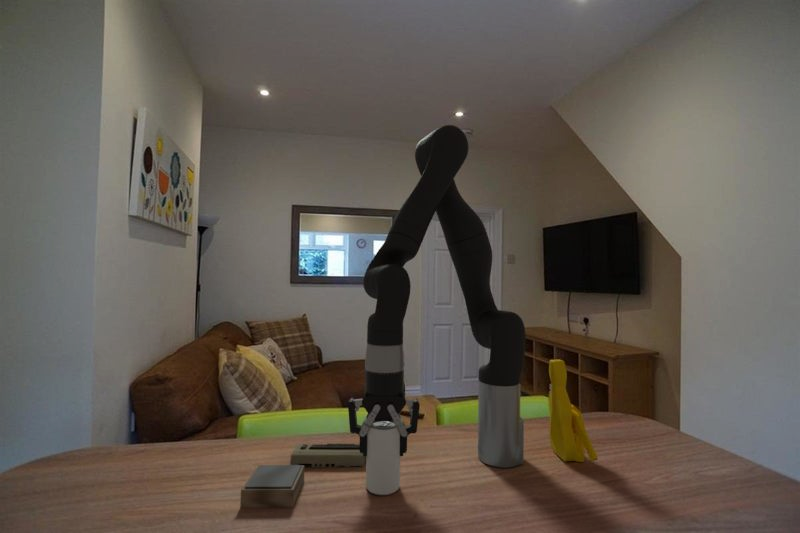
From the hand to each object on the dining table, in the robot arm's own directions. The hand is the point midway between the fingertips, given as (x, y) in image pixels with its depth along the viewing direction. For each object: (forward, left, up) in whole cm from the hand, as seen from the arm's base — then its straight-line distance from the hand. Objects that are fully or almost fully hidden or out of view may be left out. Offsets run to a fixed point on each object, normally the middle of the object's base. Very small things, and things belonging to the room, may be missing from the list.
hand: (383, 454), depth 74 cm
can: (0, 0, -6) cm, 6 cm away
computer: (+12, -12, -7) cm, 18 cm away
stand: (+20, +2, -6) cm, 21 cm away
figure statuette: (-42, -13, -6) cm, 45 cm away
